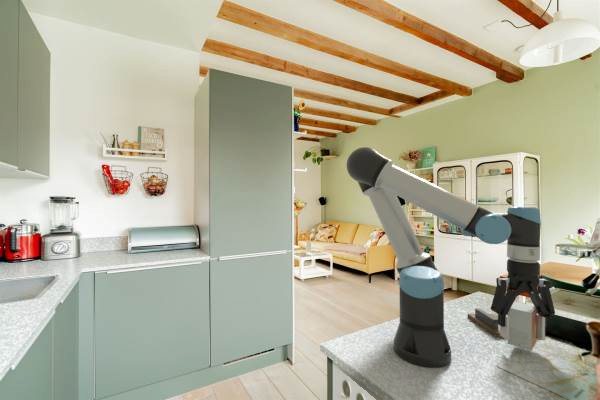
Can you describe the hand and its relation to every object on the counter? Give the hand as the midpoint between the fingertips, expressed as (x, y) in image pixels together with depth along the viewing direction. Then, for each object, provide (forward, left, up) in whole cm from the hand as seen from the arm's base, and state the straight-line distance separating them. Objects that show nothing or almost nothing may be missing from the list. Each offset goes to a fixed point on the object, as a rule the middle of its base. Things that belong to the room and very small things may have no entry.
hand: (522, 337), depth 82 cm
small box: (0, 0, -2) cm, 2 cm away
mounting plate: (+5, +16, -4) cm, 17 cm away
